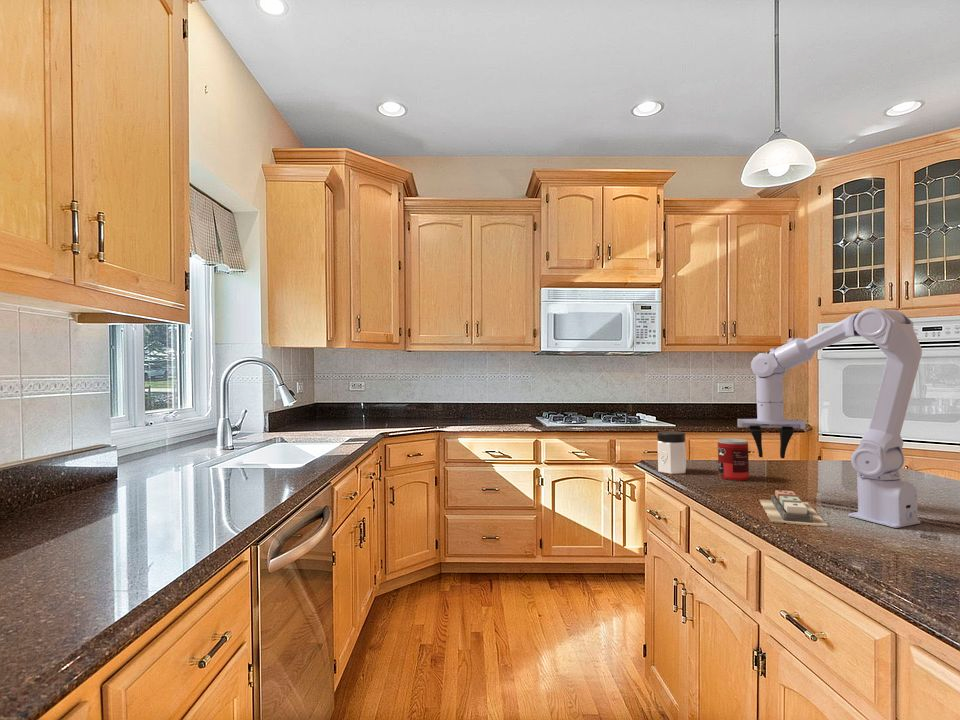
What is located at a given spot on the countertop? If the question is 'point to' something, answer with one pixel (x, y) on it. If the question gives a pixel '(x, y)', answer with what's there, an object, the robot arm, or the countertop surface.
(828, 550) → the countertop surface
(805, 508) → the key one
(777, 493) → the key three
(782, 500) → the key two
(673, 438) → the jar
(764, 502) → the key board
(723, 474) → the canned food
